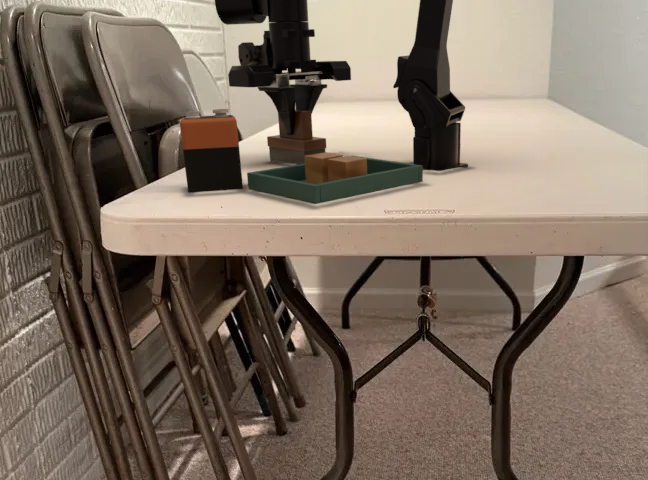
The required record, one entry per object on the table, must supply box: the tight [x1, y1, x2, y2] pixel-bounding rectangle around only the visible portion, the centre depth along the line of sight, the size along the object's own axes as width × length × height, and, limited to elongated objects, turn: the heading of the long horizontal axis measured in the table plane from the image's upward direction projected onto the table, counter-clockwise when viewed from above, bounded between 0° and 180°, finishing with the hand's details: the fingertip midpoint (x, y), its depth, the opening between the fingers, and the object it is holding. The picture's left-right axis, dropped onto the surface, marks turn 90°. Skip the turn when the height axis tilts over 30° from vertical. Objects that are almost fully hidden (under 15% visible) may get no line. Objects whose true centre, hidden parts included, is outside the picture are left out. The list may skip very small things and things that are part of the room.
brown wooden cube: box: [304, 152, 344, 184], centre depth 92 cm, size 4×4×4 cm
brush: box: [266, 108, 327, 165], centre depth 109 cm, size 4×9×8 cm, turn 43°
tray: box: [246, 155, 424, 205], centre depth 91 cm, size 18×14×2 cm
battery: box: [179, 108, 244, 193], centre depth 90 cm, size 4×7×10 cm, turn 103°
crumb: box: [327, 155, 367, 182], centre depth 89 cm, size 4×4×4 cm
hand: (295, 133), depth 109 cm, fingers closed on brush, 2 cm apart
